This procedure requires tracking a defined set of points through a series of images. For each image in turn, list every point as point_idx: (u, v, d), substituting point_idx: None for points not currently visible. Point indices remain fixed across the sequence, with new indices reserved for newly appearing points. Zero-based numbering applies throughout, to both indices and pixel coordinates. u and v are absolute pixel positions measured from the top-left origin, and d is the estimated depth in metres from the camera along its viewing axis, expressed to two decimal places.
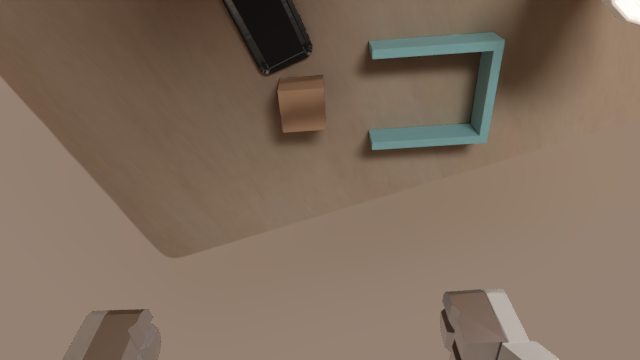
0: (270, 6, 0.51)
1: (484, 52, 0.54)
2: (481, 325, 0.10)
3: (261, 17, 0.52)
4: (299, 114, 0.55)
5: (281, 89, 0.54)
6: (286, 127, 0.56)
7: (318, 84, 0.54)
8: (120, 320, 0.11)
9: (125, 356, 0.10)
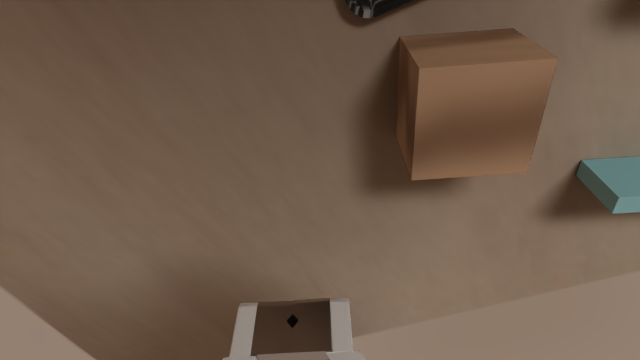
0: None
1: None
2: (313, 334, 0.10)
3: None
4: (468, 135, 0.20)
5: (426, 63, 0.18)
6: (423, 167, 0.21)
7: (526, 48, 0.19)
8: (275, 311, 0.10)
9: (291, 347, 0.10)
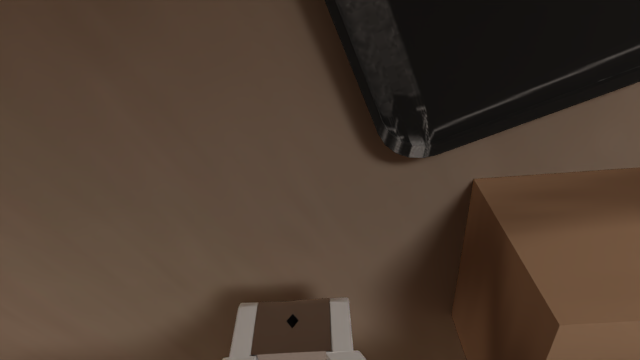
0: None
1: None
2: (313, 334, 0.10)
3: None
4: None
5: (567, 298, 0.08)
6: None
7: None
8: (275, 311, 0.10)
9: (291, 347, 0.10)
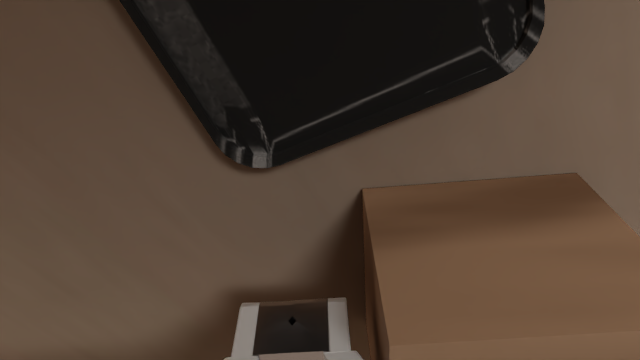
0: None
1: None
2: (310, 334, 0.10)
3: None
4: None
5: (407, 316, 0.08)
6: None
7: (630, 265, 0.09)
8: (276, 311, 0.10)
9: (293, 347, 0.10)
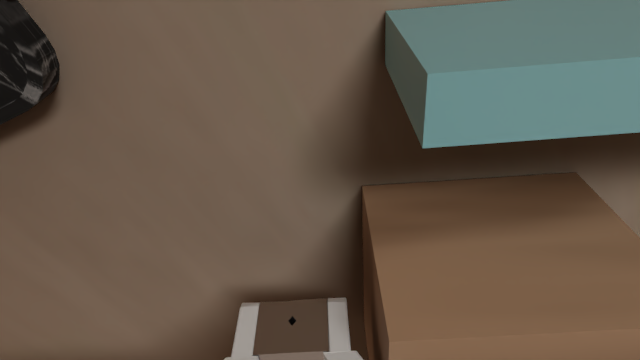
0: None
1: None
2: (310, 335, 0.10)
3: None
4: None
5: (407, 313, 0.08)
6: None
7: (628, 264, 0.09)
8: (277, 311, 0.10)
9: (293, 347, 0.10)
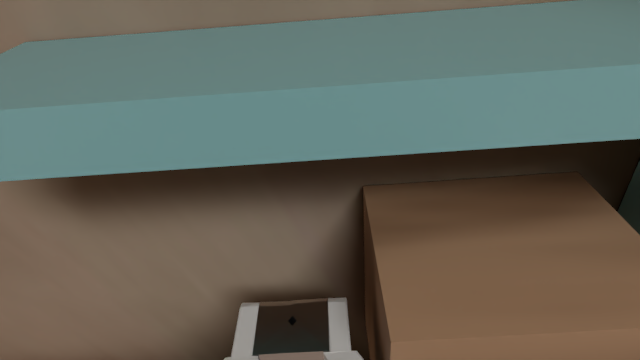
0: None
1: None
2: (311, 334, 0.10)
3: None
4: None
5: (408, 313, 0.08)
6: None
7: (631, 263, 0.09)
8: (276, 311, 0.10)
9: (293, 347, 0.10)
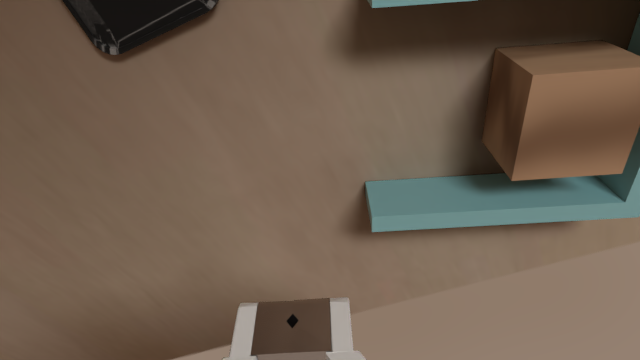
0: None
1: None
2: (313, 334, 0.10)
3: None
4: (570, 137, 0.21)
5: (536, 70, 0.20)
6: (524, 168, 0.22)
7: (626, 57, 0.21)
8: (275, 311, 0.10)
9: (291, 347, 0.10)
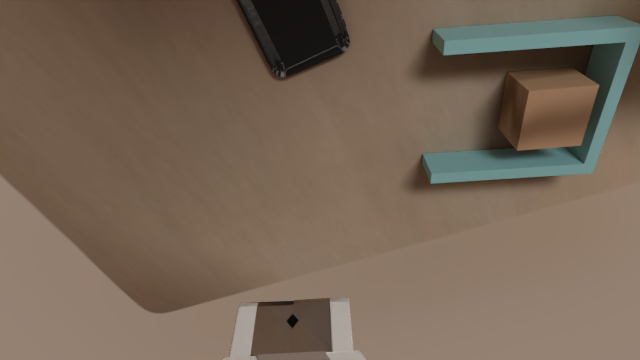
0: None
1: (601, 45, 0.37)
2: (313, 334, 0.10)
3: None
4: (550, 124, 0.38)
5: (531, 88, 0.36)
6: (524, 143, 0.39)
7: (581, 79, 0.37)
8: (275, 311, 0.10)
9: (291, 347, 0.10)
